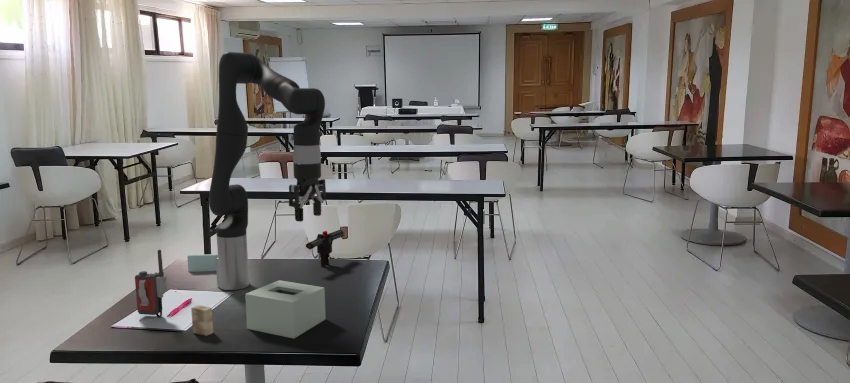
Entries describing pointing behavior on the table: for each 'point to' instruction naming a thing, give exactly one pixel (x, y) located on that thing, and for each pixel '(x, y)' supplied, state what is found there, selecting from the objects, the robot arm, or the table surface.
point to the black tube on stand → (324, 245)
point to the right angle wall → (202, 262)
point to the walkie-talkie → (150, 290)
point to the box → (285, 308)
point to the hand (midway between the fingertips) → (308, 218)
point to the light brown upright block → (202, 320)
